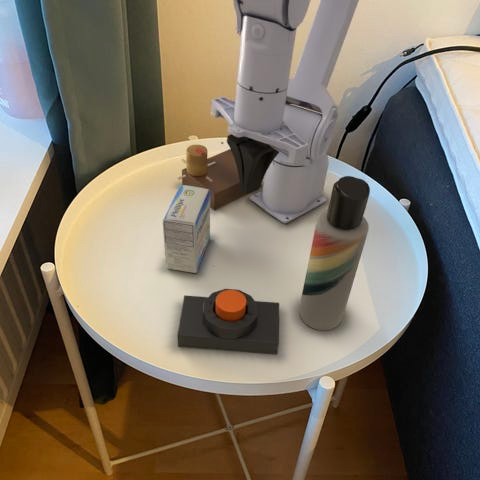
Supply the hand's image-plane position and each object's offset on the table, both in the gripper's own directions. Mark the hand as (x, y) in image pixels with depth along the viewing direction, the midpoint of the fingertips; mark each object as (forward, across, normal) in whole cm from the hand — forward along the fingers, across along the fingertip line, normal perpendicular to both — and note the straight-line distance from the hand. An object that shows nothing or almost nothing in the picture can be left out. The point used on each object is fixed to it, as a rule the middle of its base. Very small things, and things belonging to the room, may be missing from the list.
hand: (249, 189), depth 71 cm
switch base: (+12, +10, -11) cm, 18 cm away
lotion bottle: (+11, +15, 0) cm, 19 cm away
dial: (+7, -16, +5) cm, 18 cm away
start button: (+8, +10, -11) cm, 17 cm away
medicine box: (+11, -5, -6) cm, 13 cm away
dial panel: (+10, -15, +7) cm, 19 cm away
